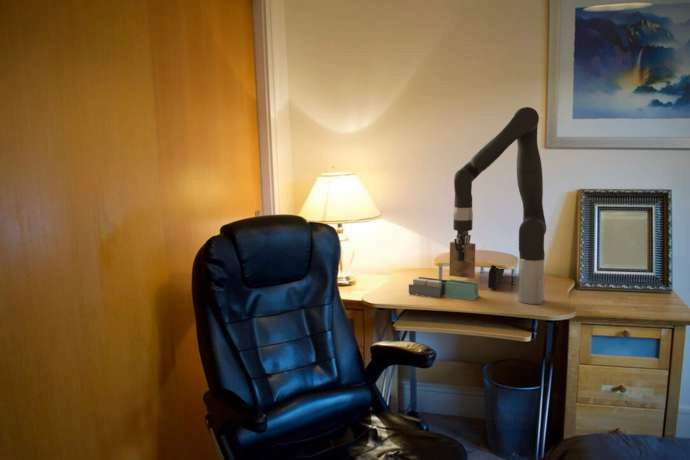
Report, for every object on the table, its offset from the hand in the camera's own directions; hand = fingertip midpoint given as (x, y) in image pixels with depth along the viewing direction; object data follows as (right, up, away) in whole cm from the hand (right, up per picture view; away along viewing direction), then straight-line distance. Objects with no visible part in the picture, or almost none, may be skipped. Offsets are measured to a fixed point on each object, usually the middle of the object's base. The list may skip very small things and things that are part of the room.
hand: (462, 260), depth 211 cm
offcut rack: (-13, -15, +8) cm, 21 cm away
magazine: (+21, -12, +24) cm, 34 cm away
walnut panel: (0, -7, +1) cm, 7 cm away
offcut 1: (-16, -14, +8) cm, 22 cm away
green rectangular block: (0, -15, +2) cm, 15 cm away
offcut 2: (-11, -14, +5) cm, 18 cm away
